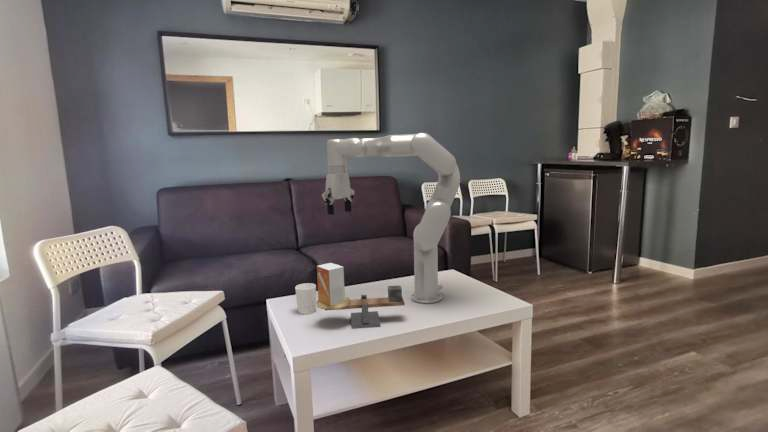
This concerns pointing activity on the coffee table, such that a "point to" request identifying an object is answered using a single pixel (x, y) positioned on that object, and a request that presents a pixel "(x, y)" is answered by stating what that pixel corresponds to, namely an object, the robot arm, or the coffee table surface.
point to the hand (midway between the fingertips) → (339, 212)
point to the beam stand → (365, 317)
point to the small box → (330, 284)
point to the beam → (369, 301)
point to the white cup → (306, 298)
